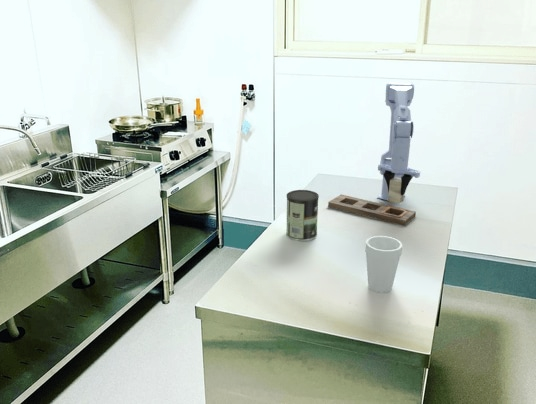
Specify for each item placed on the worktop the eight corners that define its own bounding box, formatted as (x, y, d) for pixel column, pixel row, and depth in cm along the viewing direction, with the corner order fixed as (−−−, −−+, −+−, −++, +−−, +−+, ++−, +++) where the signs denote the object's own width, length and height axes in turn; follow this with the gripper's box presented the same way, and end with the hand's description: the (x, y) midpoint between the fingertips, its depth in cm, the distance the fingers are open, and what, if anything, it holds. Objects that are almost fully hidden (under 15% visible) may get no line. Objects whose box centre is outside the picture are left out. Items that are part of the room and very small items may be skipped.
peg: (392, 198, 189) (394, 177, 186) (403, 200, 187) (405, 179, 184) (387, 201, 186) (390, 179, 183) (398, 203, 184) (401, 182, 181)
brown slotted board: (340, 199, 205) (341, 193, 205) (415, 216, 189) (416, 211, 188) (328, 206, 198) (328, 201, 197) (404, 225, 182) (405, 220, 181)
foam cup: (373, 274, 150) (377, 232, 145) (403, 285, 144) (408, 242, 139) (356, 287, 143) (359, 244, 138) (387, 299, 137) (391, 254, 133)
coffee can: (316, 228, 179) (317, 189, 174) (318, 241, 170) (319, 200, 164) (285, 228, 179) (286, 189, 174) (285, 241, 170) (286, 200, 165)
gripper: (375, 154, 181) (372, 192, 186) (416, 162, 173) (412, 200, 178) (383, 150, 187) (380, 186, 192) (424, 157, 179) (419, 194, 184)
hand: (396, 193), depth 185 cm, fingers closed on peg, 4 cm apart
